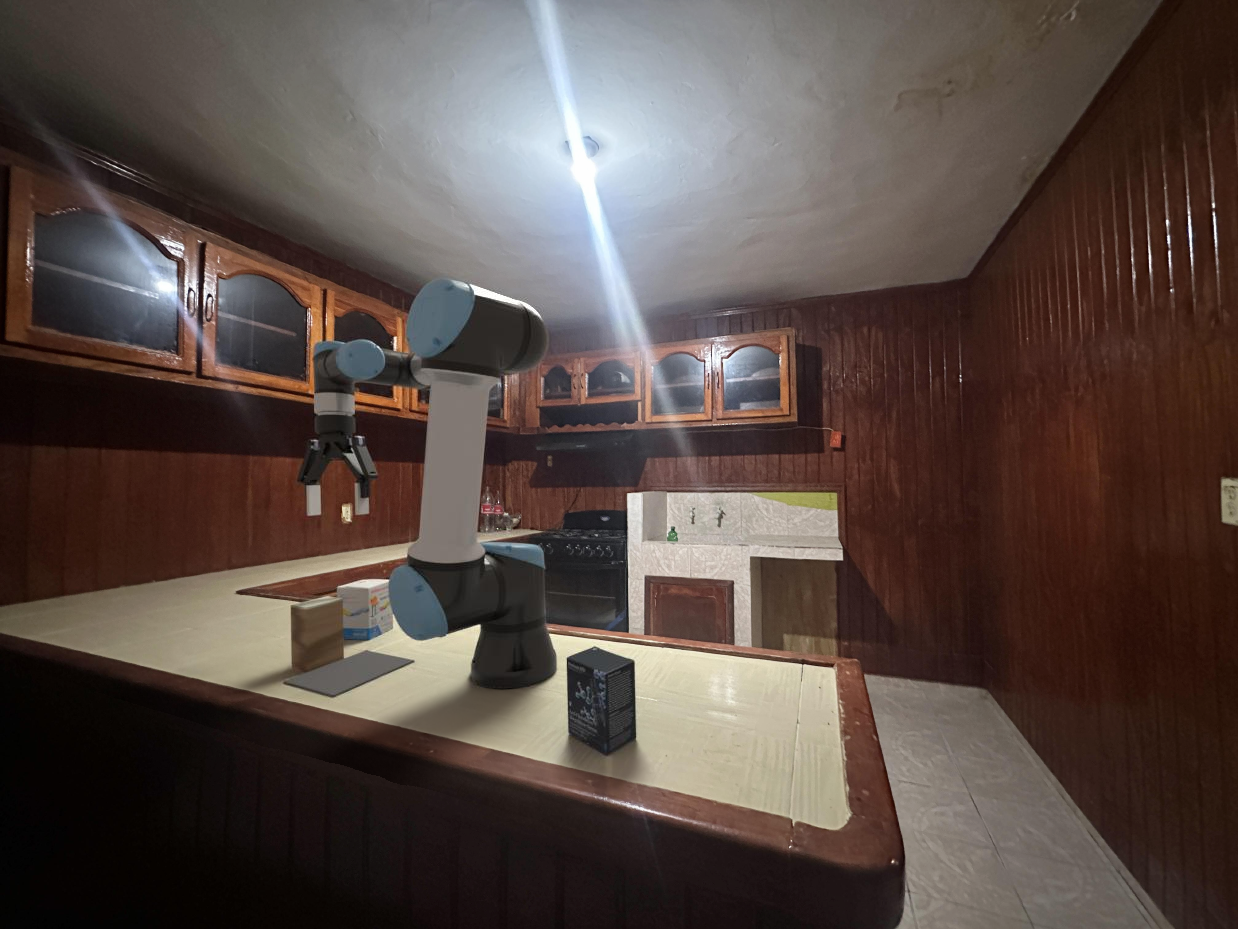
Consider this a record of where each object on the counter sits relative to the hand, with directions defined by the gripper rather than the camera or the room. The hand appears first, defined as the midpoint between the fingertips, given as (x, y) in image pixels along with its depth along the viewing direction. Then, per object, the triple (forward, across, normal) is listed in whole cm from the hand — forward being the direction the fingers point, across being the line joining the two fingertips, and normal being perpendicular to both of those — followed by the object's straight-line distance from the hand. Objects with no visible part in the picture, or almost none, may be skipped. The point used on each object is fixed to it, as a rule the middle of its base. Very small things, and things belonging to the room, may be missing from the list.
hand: (337, 515), depth 104 cm
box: (+29, -66, +17) cm, 74 cm away
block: (+28, -4, +8) cm, 29 cm away
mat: (+28, -13, +9) cm, 33 cm away
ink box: (+28, +2, -9) cm, 30 cm away
